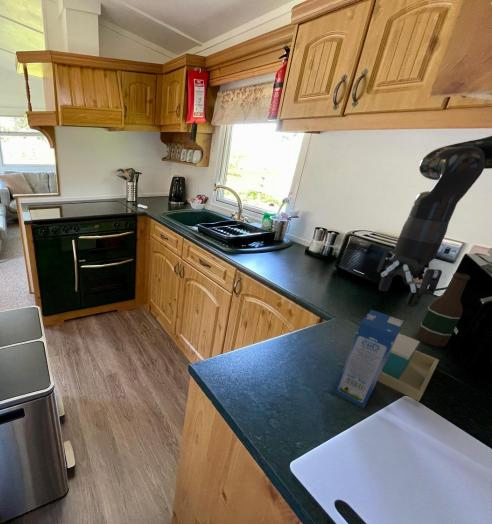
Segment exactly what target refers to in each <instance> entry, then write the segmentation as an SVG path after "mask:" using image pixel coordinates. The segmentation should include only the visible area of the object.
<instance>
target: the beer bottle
mask: <svg viewBox="0 0 492 524" xmlns="http://www.w3.org/2000/svg"><path fill="white" fill-rule="evenodd" d="M470 279H471V276H470V275H468V274H466V273H462V272H454V273H453V274H452V278H451V279H450V282H449V283H448V285H447V287H446V288H445V290H444V291H443V293H442V294H440V295H438V296H436V297H435V298H433V299H432V300H431V301H430V303H429V305H428V306H427V309H426V311H425V312H424V314H423V317H422V318H421V321H420V323H419V325H418V327H417V330H416V333H415V335H416V338H417V339H418V340H419V341H420V342H423V343H425V344H428V345H431V346H433V347H439V348H440V347H442V348H444V347H446V346H447V344H448V343H449V340H450V339H451V336H452V335H453V333H454V331H455V329H456V327H457V325H458V323H459V321H460V319H461V317H462V315H463V311H464V309H463V305H462V302H461V299H462V295H463V293H464V291H465V288H466V286H467V283H468V281H470Z"/></svg>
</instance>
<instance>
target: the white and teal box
mask: <svg viewBox="0 0 492 524" xmlns="http://www.w3.org/2000/svg"><path fill="white" fill-rule="evenodd" d="M420 343H421V340H417V339H414V338H413V337H412V338H411V337H409V336H407V335H404V334H402V333H400V332H399V333H398V335H397V338H396V340H395V342H394V344H393V347H392V349H391V351H390V353H389V355H388V358H387V360H386V362H385V364H384V367H383V369H382V371H381V372H383V373H386V374H388V375H390V376H392V377H394V378H396V379H398V380H399V378H400V377H401V375H402V373H403V372H404V370H405V369H406V367H407V366H408V364H409V362H410V360H411V358H412V356H413V354H414V352H415V350H416V351H417V348H418V346H419V345H420Z"/></svg>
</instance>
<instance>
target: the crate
mask: <svg viewBox="0 0 492 524" xmlns="http://www.w3.org/2000/svg"><path fill="white" fill-rule="evenodd" d="M439 362H440V359H438V358H436V357H433V356H431V355H428V354H426V353H424V352H421V351H419V350H417V349H416V350H415V352H414V354H413V356H412V358H411V360H410V362H409V364H408V366H407V367H406V369H405V370H404V372H403V373H402V375H401V377H400V378H399V380H398V379H396V378H394V377H392V376H390V375H388V374H386V373H383V372H381V373H380V376H379V378H378V380H377V382H379V383H381V384H383V385H385V386H387V387H389V388H391V389H393V390H395V391H397V392H399V393H401V394H403V395H404V396H407V397H409V398H410V399H413V400H414V401H416V402H420V400H421V398H422V397H423V396H424V393H425V391H426V389H427V387H428V384H429V383H430V380H431V378H432V377H433V374H434V372H435V370H436V368H437V366H438V364H439Z"/></svg>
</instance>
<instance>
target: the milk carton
mask: <svg viewBox="0 0 492 524" xmlns="http://www.w3.org/2000/svg"><path fill="white" fill-rule="evenodd" d="M404 322H405V321H404V319H403V320H402V319H400V318H397V317H394V316H391V315H388V314H385V313H382V312H379V311H376V310H374V309H370V311H369V312H368V313H367V314H366V316H364V318H363V320H361V322H360V323H359V326H358V328H357V332H356V334H355V337H354V339H353V342H352V345H351V347H350V350H349V352H348V355H347V357H346V360H345V363H344V365H343V368H342V370H341V372H340V375H339V378H338V381H337V384H336V386H335V388H334V391H333V392H334V393H335V394H336V395H337V394H338V395H339V396H340V397H342V398H344V399H346V400H347V401H349V402H352V403H354V404H355V405H357V406H359V407H361V408H363V409H365V407H366V405H367V403H368V401H369V399H370V398H371V395H372V393H373V391H374V388H375V387H376V385H377V382H378V381H377V380H378V378H379V376H380V373H381V371H382V369H383V367H384V364H385V362H386V360H387V358H388V355H389V353H390V351H391V349H392V347H393V344H394V342H395V340H396V338H397V335H398V333H399V334H400V331H401V330H402V329H401V328H402V326H403V324H404Z"/></svg>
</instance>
